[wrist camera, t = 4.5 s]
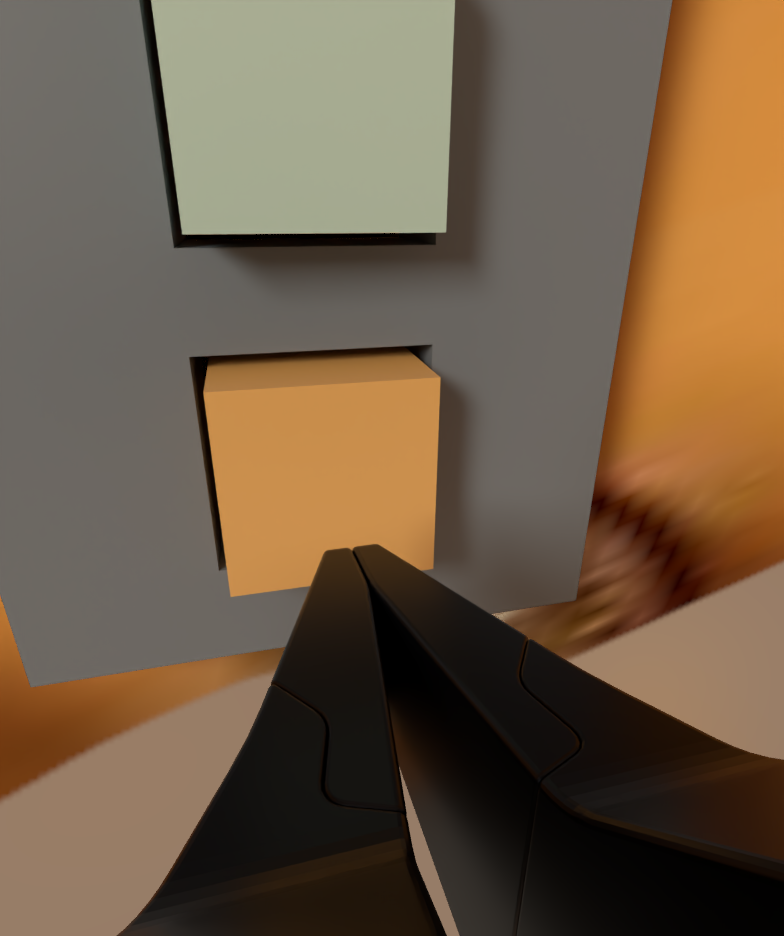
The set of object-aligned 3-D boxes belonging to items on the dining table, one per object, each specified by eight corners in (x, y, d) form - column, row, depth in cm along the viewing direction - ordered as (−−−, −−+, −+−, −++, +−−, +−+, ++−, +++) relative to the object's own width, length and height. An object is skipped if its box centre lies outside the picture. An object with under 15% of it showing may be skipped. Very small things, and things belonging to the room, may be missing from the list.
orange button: (231, 526, 15) (230, 597, 12) (209, 353, 13) (203, 392, 10) (399, 507, 16) (433, 568, 13) (401, 344, 14) (440, 377, 11)
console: (63, 608, 16) (30, 687, 14) (-434, -1180, 6) (-902, -2151, 4) (529, 545, 19) (575, 600, 17) (675, -729, 9) (848, -1092, 7)
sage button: (193, 227, 12) (182, 234, 9) (159, -48, 10) (132, -137, 8) (402, 226, 13) (445, 232, 10) (404, -25, 11) (458, -96, 8)
